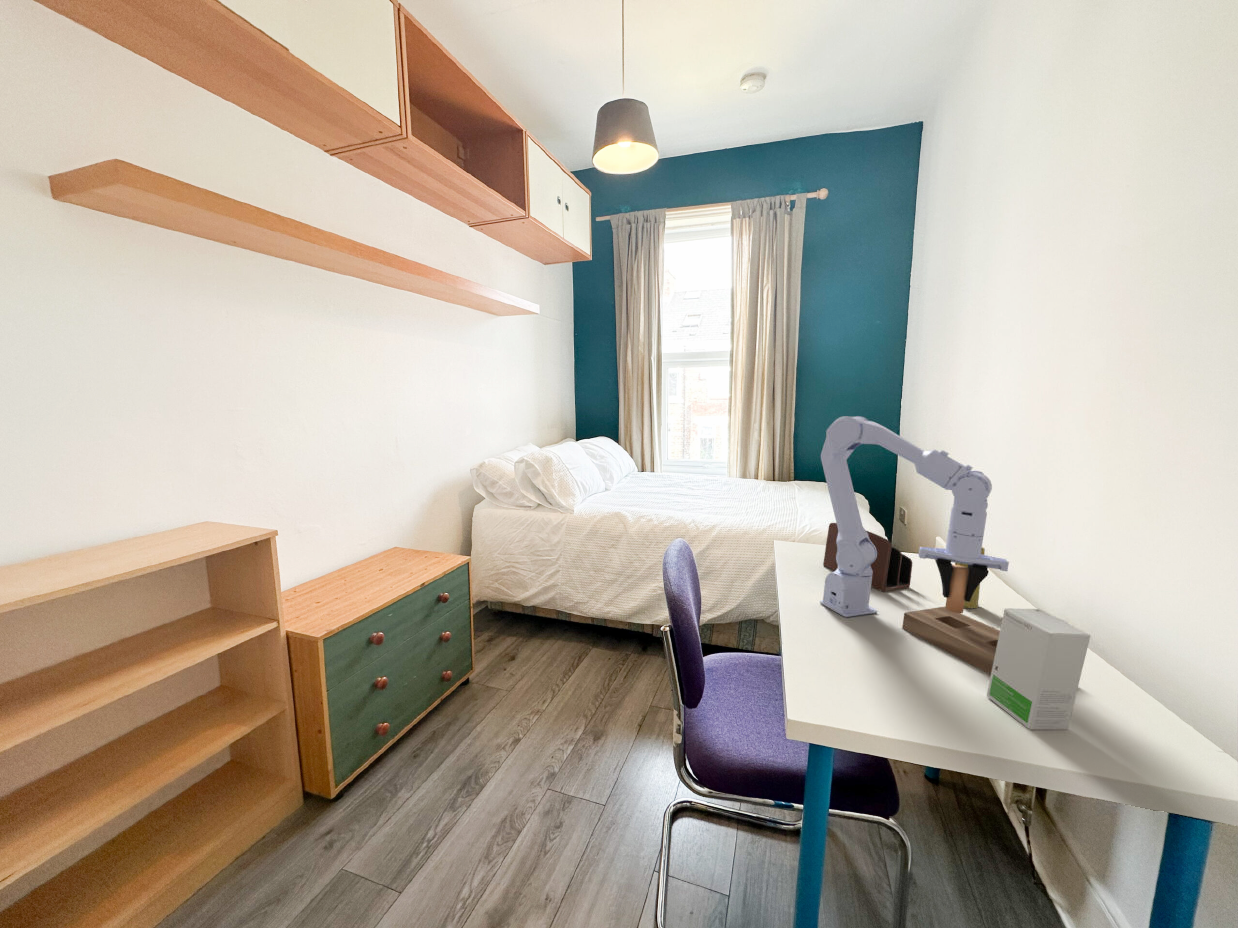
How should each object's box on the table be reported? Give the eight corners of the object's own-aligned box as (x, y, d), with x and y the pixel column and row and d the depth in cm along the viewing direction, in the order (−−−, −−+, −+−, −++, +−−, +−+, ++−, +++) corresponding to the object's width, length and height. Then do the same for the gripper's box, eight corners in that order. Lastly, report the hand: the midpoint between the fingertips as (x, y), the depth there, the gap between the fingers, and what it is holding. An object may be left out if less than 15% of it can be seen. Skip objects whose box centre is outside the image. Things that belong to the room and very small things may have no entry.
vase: (984, 609, 114) (993, 551, 112) (958, 607, 114) (967, 549, 112) (966, 598, 120) (974, 543, 118) (941, 597, 120) (949, 541, 118)
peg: (956, 613, 96) (962, 570, 95) (941, 607, 99) (947, 565, 98) (966, 612, 97) (972, 569, 96) (951, 606, 100) (957, 564, 99)
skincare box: (985, 696, 79) (999, 606, 77) (1022, 696, 80) (1038, 607, 77) (1032, 732, 71) (1049, 632, 69) (1073, 731, 71) (1092, 632, 69)
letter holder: (883, 592, 122) (890, 538, 120) (822, 566, 140) (827, 519, 138) (910, 588, 126) (917, 535, 124) (847, 563, 144) (852, 516, 142)
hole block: (1017, 688, 82) (1020, 668, 81) (902, 628, 102) (904, 612, 102) (1061, 677, 86) (1064, 658, 85) (942, 621, 106) (944, 606, 106)
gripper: (1004, 533, 96) (994, 598, 98) (920, 522, 102) (912, 583, 104) (1016, 542, 90) (1004, 611, 92) (925, 530, 96) (916, 595, 98)
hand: (956, 597), depth 98 cm, fingers closed on peg, 3 cm apart
